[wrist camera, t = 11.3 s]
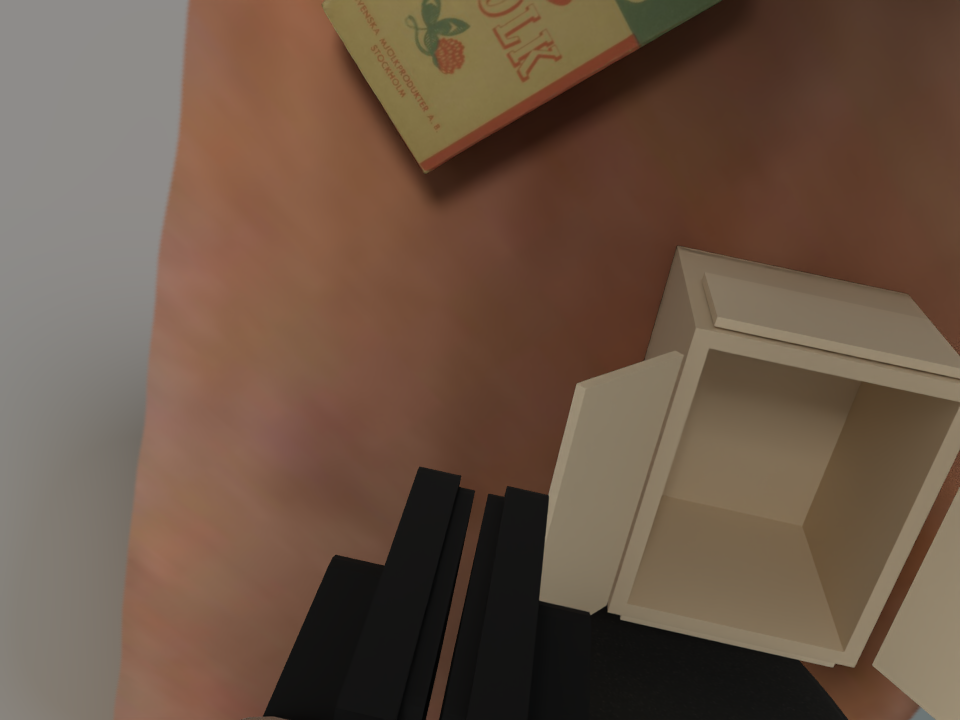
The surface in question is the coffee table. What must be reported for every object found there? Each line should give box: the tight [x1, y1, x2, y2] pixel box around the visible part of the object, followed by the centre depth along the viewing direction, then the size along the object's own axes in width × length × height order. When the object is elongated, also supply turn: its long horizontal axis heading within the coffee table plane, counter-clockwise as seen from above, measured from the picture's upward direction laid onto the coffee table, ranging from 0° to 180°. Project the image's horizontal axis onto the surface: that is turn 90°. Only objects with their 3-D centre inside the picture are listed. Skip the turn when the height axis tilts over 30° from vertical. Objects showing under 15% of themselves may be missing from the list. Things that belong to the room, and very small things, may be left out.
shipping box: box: [608, 246, 960, 668], centre depth 42 cm, size 15×11×10 cm
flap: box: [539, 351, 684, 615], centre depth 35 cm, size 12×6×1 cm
